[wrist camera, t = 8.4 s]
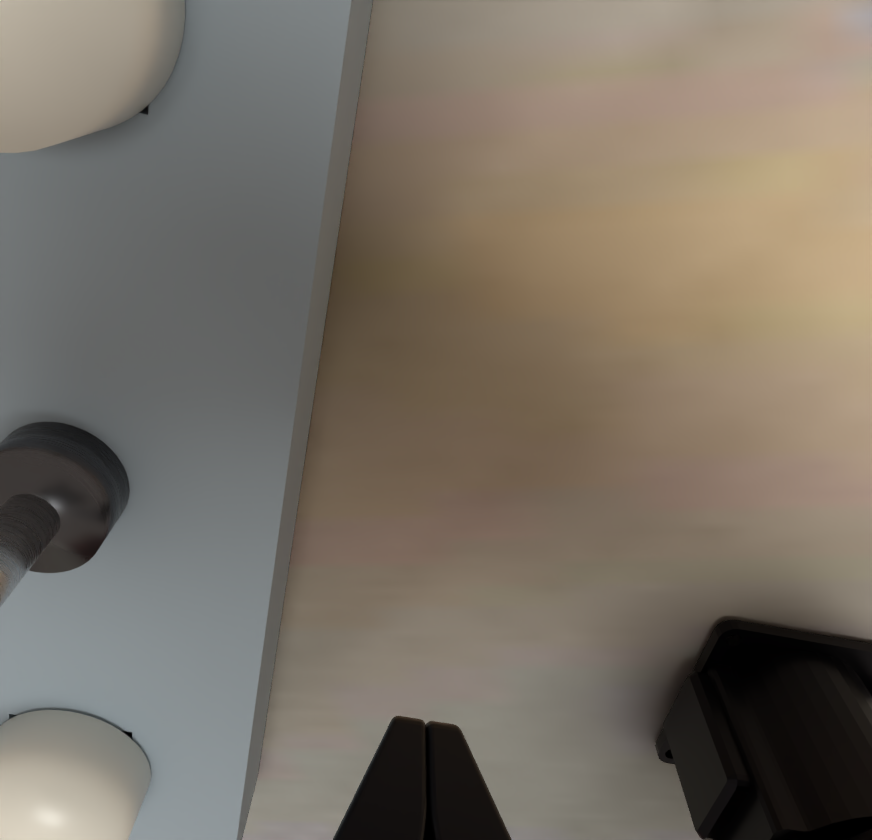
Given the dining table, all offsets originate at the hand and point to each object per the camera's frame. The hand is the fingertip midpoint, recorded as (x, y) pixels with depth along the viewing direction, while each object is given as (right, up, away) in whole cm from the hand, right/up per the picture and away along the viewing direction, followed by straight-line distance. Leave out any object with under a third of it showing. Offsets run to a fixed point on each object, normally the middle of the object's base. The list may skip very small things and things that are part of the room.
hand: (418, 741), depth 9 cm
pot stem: (-8, +3, +8) cm, 12 cm away
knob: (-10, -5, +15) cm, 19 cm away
